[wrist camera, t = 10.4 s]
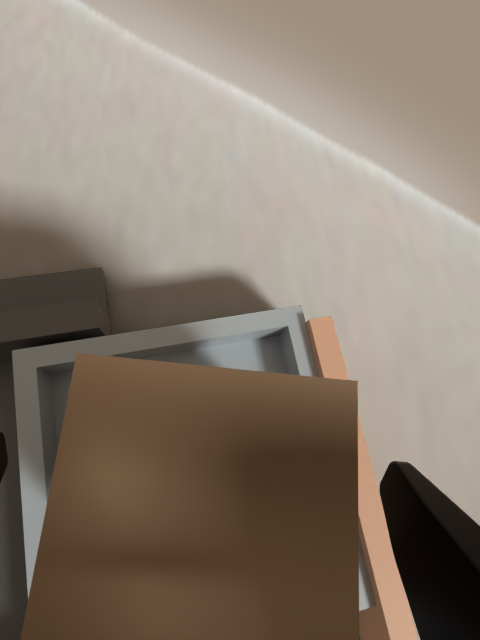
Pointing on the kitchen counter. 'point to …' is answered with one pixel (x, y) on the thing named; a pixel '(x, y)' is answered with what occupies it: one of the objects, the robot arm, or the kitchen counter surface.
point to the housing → (4, 336)
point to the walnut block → (200, 507)
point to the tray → (217, 351)
